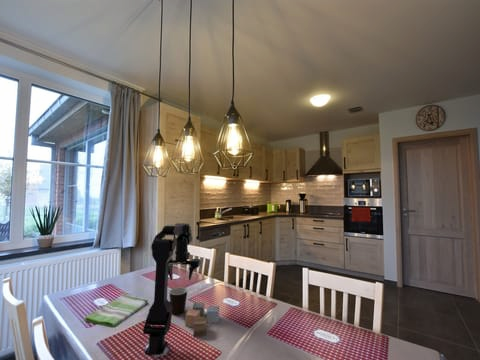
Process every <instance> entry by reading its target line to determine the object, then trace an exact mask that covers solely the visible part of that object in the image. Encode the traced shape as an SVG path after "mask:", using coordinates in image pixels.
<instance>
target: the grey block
mask: <svg viewBox="0 0 480 360" xmlns="http://www.w3.org/2000/svg"><path fill="white" fill-rule="evenodd" d="M192 309H193V310H200V317H205V316H204V315H205V302H201V301H200V302H193V305H192Z"/></svg>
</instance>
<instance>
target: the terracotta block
mask: <svg viewBox="0 0 480 360" xmlns="http://www.w3.org/2000/svg"><path fill="white" fill-rule="evenodd" d="M195 317H200V310H193V308H192V309H191V308H190V309H189V310H187V312H186V314H185V322H184V323H185V325H184V326H185V327H187V328H194V318H195Z"/></svg>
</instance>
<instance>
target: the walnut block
mask: <svg viewBox="0 0 480 360" xmlns="http://www.w3.org/2000/svg"><path fill="white" fill-rule="evenodd" d="M192 335H193V337H206V336H207V316H204V317H195V318H194V327H193V334H192Z"/></svg>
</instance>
